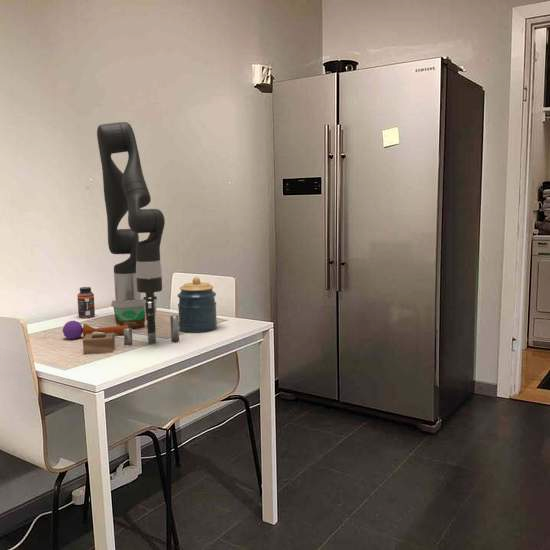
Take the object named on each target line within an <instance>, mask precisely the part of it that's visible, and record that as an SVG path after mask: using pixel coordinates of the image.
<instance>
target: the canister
mask: <svg viewBox="0 0 550 550" xmlns="http://www.w3.org/2000/svg"><path fill="white" fill-rule="evenodd" d="M213 289H214V286H213V285H211V284H210V283H209V282H205V281H204V282H203V281H202V282H201V279H200V277H198V276H196V277H195V276H194V278H192V282H188V283H184V284H183V285H182V286H180V287H179V290H180V292H179V293H177V297H178V301H179V302H178V303H177V308H178V321H179V331H181V332H186V333H205V332H211V331H214V330H215V329H217V325H218V319H217V302H216V299H215V298H216V295H217V293H216V292H215V291H214V290H213Z"/></svg>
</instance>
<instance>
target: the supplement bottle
mask: <svg viewBox="0 0 550 550" xmlns="http://www.w3.org/2000/svg"><path fill="white" fill-rule="evenodd" d="M76 296H77V309H78V311H77V312H78V314H77V315H78V318H80V319H89V318H94V317H95V315H96V313H95V311H96V308H95V293H93V292H92V288H91V287H90V286H82V287H79V293H77V295H76Z"/></svg>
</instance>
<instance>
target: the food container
mask: <svg viewBox="0 0 550 550" xmlns="http://www.w3.org/2000/svg"><path fill="white" fill-rule="evenodd" d="M110 307H112V308H113V313H114V319H115V323H116V326H124V325H128V328H132V331H134V330H139V329H140V330H141V329H143V328H145V325H146V313H145V308H144V303H143V298H141V300H127V301H116V300H113V299H112V302H111V305H110Z"/></svg>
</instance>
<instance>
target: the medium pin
mask: <svg viewBox="0 0 550 550" xmlns="http://www.w3.org/2000/svg"><path fill="white" fill-rule="evenodd" d="M169 317H170V337H171V338H170V339H171V340H170V341H171V343H174V342H175V343H179V342H180V329H179V315H176V314H175V315H170V316H169ZM178 341H179V342H178Z"/></svg>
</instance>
